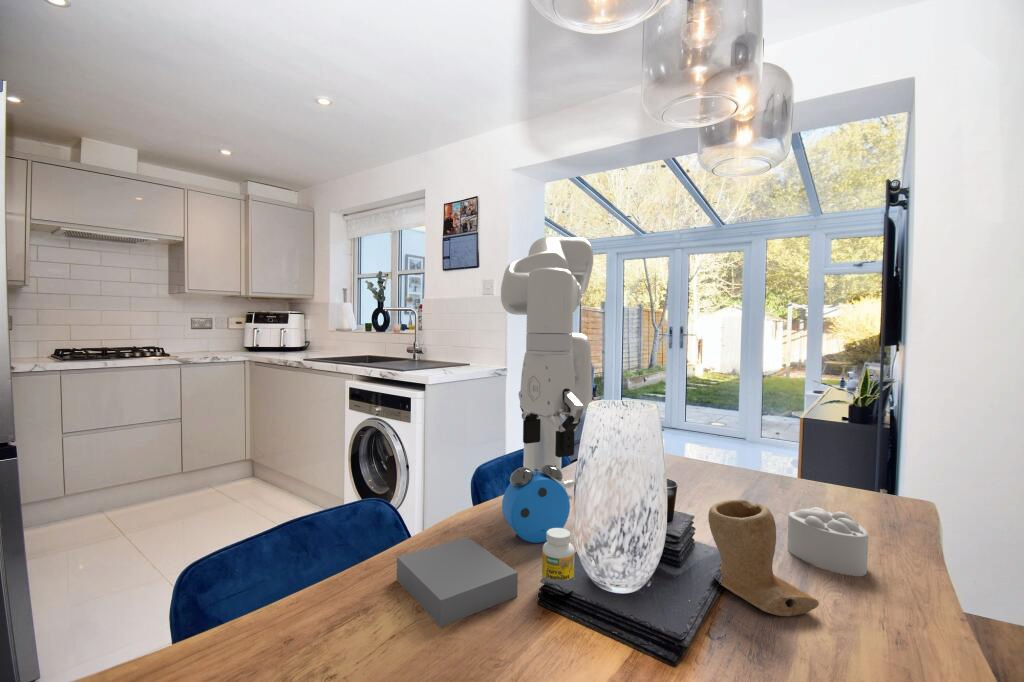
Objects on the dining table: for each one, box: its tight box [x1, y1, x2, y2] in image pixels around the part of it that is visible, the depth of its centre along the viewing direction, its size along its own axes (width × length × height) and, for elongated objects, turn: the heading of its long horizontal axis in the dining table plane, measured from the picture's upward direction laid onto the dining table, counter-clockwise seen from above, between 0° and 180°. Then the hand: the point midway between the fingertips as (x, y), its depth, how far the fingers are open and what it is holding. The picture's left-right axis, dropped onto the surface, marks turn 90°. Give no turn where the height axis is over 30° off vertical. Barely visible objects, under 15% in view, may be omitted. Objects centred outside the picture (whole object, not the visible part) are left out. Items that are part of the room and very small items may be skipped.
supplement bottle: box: [541, 527, 575, 580], centre depth 81 cm, size 5×5×10 cm
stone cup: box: [708, 499, 820, 617], centre depth 80 cm, size 15×12×15 cm
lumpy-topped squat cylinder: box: [786, 506, 869, 577], centre depth 93 cm, size 10×13×9 cm
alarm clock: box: [501, 465, 571, 544], centre depth 100 cm, size 13×6×15 cm, turn 112°
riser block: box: [396, 536, 519, 628], centre depth 81 cm, size 14×16×4 cm
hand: (547, 448), depth 80 cm, fingers open, 9 cm apart
